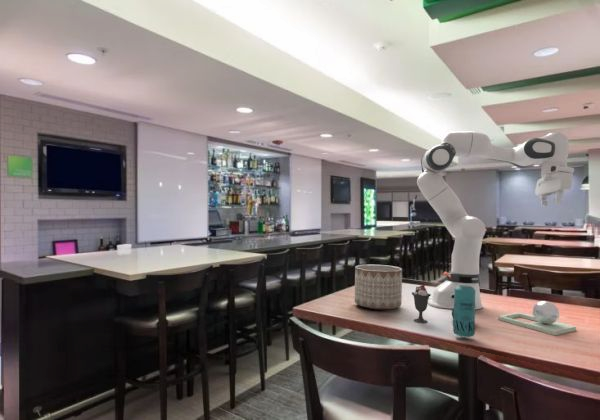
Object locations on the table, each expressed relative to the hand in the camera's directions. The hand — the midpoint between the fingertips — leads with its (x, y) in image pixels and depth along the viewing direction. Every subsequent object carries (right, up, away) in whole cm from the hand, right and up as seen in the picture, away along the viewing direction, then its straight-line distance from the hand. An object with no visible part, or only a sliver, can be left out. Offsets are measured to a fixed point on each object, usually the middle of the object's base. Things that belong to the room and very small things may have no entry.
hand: (550, 204), depth 153 cm
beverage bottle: (-52, -43, -36) cm, 76 cm away
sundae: (-60, -43, -18) cm, 76 cm away
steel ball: (-17, -39, -22) cm, 48 cm away
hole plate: (-19, -44, -18) cm, 51 cm away
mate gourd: (-45, -44, -19) cm, 65 cm away
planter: (-71, -43, +3) cm, 83 cm away
